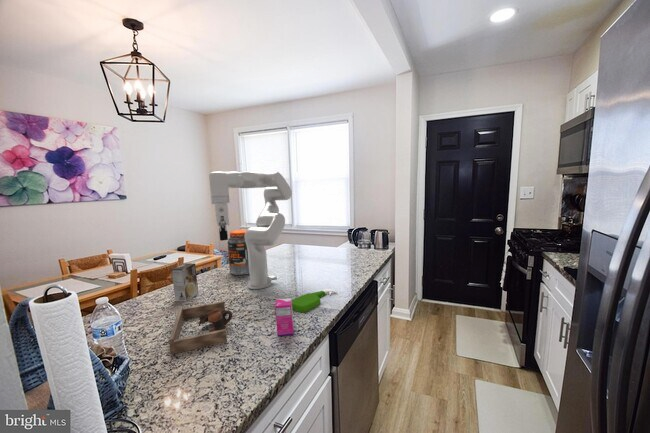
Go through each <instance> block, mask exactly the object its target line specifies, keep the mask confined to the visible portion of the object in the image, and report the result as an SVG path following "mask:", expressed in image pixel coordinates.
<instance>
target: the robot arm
mask: <svg viewBox="0 0 650 433" xmlns="http://www.w3.org/2000/svg"><path fill="white" fill-rule="evenodd" d="M208 178H209V179H208V180H209V190H210V201H211V205H214V212H215V218H216V219H215V220H216V224H217V227H219V229H218V232H219V233H218V234H219V240H220V241H228V239H229V237H228V236H229V235H228V234H229V233H228V230H227V226H230V216H229V206H228V204H231V201H230V200H231V199H230V190H229V189H260V188H262V189H263V188H264V191H263V198H264V208H263V209H262V210H261V211H260V213H259V215H258V216H257V218H256V221H255V225H256V226H251V227H249V228H246V229H245V230H246V232H245V242H246V245H247V250H248V261H249V282H248V283H247V285H246V286H247V288H248V289H250V290H262V289H266V288H268V287H270V286H271V285H272V281H277V280H278V276H274V275H269V274H268V258H267V250H266V248H265V247H272V246H274V245H275V244H276V243H277V242H278V240H279V238H280V236H281V234H282V232H283V230H284V228H285V226H286V219H285V218H286V217H285V216H284V214H282V213H281V212H280V209H279V206H278V204H277V202H276V201H289V200H290V199H291V198H292V194H293V193H292V192H293V191H292V189H291V186H290V184H289V183H288V182H287V180H286V179H285V177H284V176H283V174H281V173H280V171H275V170H273V171H251V170H250V171H241V172H239V171H212V172H209V174H208Z"/></svg>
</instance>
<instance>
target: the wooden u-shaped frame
mask: <svg viewBox="0 0 650 433" xmlns="http://www.w3.org/2000/svg"><path fill="white" fill-rule="evenodd" d="M225 304H226V303H225V300H222V301H221V300H220V301H215V302H211V303H205V304H200V305H194V306H188V307H184V306H183V305H182V306H179V308H178V311H177V313H176V317H175V320H174V323H173V326H172V330H171V332H170V336H169V339H168V343H169V353H170V355H175V354H179V353H183V352H188V351H192V350H196V349H199V348H204V347H209V346H212V345H213V346H214V345H217V344H218V345H219V344H221V343H226V342H228V338H227V337H228V336H227V329H226V328H225V329H223V330H218V331H213V332H209V331H208V332H205V333H199V334H195V335H191V336H187V337H183V338H180V336H181V331H182V326H183V322H184V319H190V318H195V317H201V316H203V315H205V314H207V313H209V312H211V311H213V310H216V309H219V312H224V311H226V306H225Z"/></svg>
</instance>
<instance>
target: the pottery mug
mask: <svg viewBox="0 0 650 433" xmlns="http://www.w3.org/2000/svg"><path fill="white" fill-rule="evenodd" d="M227 315H228V317H227V318H226V316H227ZM198 319H199V322H198V326H199V327H200V326H201V325H204V324H205V323H211V324H212V326H213V327H211V329H209V330H208V333H209V332H213V331H218V330H223V329H226V326H227V325H228V323H229V322H231V320H232V319H233V312H232V311H231V310H228V309H227V310H225V311H221V312H219V309H216V310H213V311H211V312H209V313H207V314H205V315H201V316H199V317H198Z"/></svg>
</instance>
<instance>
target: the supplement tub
mask: <svg viewBox="0 0 650 433" xmlns="http://www.w3.org/2000/svg"><path fill="white" fill-rule="evenodd" d="M246 230H247V229H235V230H231V231H229V237H228V240H227V251H228V254H227V255H228V266H229V273H230V274H232V275H235V276H239V275H240V276H241V275H248V274H249V261H248V250H247V245H246V242H245V232H246Z"/></svg>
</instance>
